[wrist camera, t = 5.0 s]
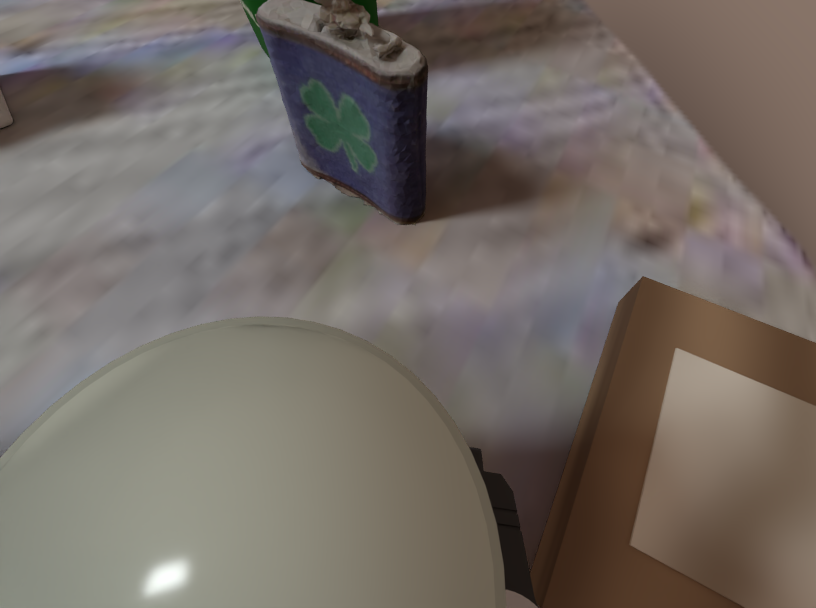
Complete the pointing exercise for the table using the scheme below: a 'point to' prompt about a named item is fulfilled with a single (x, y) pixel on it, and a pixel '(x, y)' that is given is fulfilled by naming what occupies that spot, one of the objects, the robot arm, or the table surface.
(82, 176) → the table surface
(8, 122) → the medicine bottle
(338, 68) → the flask
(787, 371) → the pedestal
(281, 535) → the canister
